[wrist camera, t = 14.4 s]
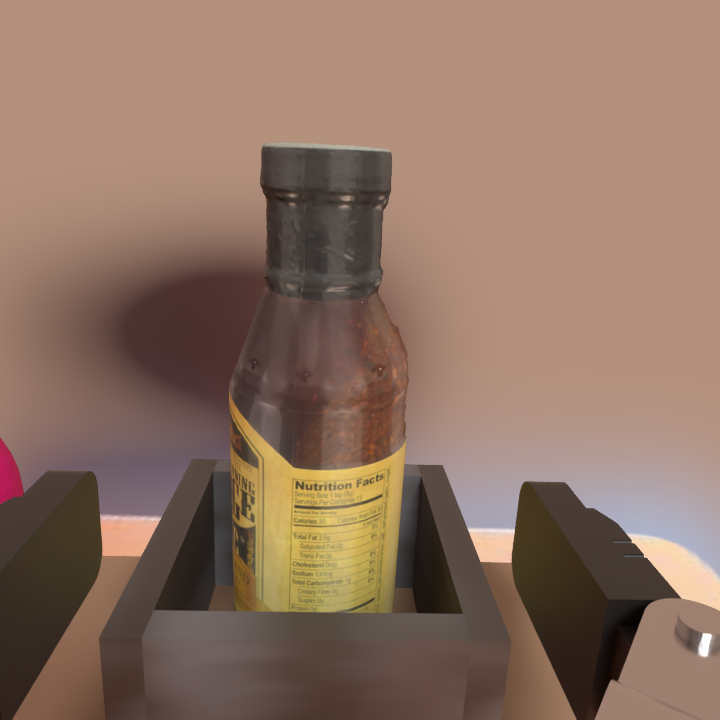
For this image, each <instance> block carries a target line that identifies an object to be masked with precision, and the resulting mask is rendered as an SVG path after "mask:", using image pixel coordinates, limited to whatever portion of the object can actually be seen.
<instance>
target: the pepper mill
mask: <svg viewBox="0 0 720 720" xmlns="http://www.w3.org/2000/svg"><path fill="white" fill-rule="evenodd" d="M23 494H24V491H23V486H22V482H21V478H20V473H19V469H18V467H17V465H16V463H15V461H14V458H13V456H12V454H11V452H10V451H9V449H8V448H7V447H6V445H5V444H4V442H3V441H2V439H1V438H0V504H1V503H3V502H5V501H7V500H9V499H11V498H13V497H21V496H22V495H23Z"/></svg>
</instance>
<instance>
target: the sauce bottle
mask: <svg viewBox="0 0 720 720" xmlns="http://www.w3.org/2000/svg"><path fill="white" fill-rule="evenodd" d="M261 154H262V156H261V157H262V167H261V178H260V184H261V187H262V189H263V193H264V195H265V196H266V199H267V200H266V201H267V209H266V217H267V249H266V255H267V259H266V266H265V268H264V271H263V274H264V279H265V284H264V287H263V290H262V293H261V296H260V299H259V302H258V305H257V308H256V311H255V314H254V317H253V320H252V323H251V326H250V329H249V332H248V335H247V338H246V341H245V344H244V347H243V349H242V352H241V355H240V357H239V360H238V363H237V365H236V368H235V370H234V373H233V376H232V378H231V381H230V384H229V406H230V407H229V409H230V410H229V411H230V449H231V473H230V476H231V505H232V543H233V587H234V611H258V612H341V613H393V600H394V589H395V577H396V564H397V552H398V539H399V527H400V514H401V501H402V488H403V475H404V462H405V449H406V424H405V421H404V417H405V407H406V405H405V399H406V398H405V397H406V390H407V385H408V375H407V374H408V363H407V352H406V349H405V346H404V344H403V342H402V339H401V336H400V333H399V329H398V327H397V326H395V325H394V324H393V323H392V321H391V320H390V319H389V316H388V313H387V311H386V310H385V306H384V303H383V302H382V300H381V299H380V296H379V294H378V288H379V286H380V284H381V280H382V275H383V270H382V268H381V265H380V257H381V244H382V243H381V242H382V221H383V210H384V208H385V207H386V205H387V204H388V200H389V195H390V192H391V175H392V155H391V152H390V151H389V150H386V149H381V148H372V147H359V146H349V145H325V144H310V143H265V144H264V145H263V147H262V152H261Z"/></svg>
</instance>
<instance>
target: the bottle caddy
mask: <svg viewBox="0 0 720 720" xmlns="http://www.w3.org/2000/svg"><path fill="white" fill-rule="evenodd" d="M230 473H231V460H204V459H192V461H191V463H190V465H189V467H188V468H187V471H186V473H185V474H184V476H183V478H182V480H181V482H180V484H179V486H178V488H177V489H176V491H175V493H174V495H173V497H172V499H171V501H170V503H169V505H168V507H167V509H166V511H165V513H164V514H163V516H162V518H161V520H160V522H159V524H158V526H157V528H156V530H155V531H154V533H153V535H152V537H151V539H150V541H149V543H148V545H147V547H146V549H145V551H144V552H143V554H142V556H141V557H130V556H102V560H101V566H100V570H99V574H98V577H97V579H96V581H95V583H94V585H93V587H92V588H91V590H90V592H89V593H88V595H87V597H86V598H85V600H84V601H83V603H82V605H81V606H80V608H79V610H78V611H77V613H76V615H75V616H74V618H73V620H72V621H71V623H70V625H69V626H68V628H67V630H66V631H65V633H64V635H63V636H62V638H61V640H60V641H59V643H58V645H57V646H56V648H55V649H54V651H53V653H52V654H51V656H50V658H49V659H48V661H47V663H46V664H45V666H44V668H43V669H42V671H41V673H40V674H39V676H38V678H37V679H36V681H35V683H34V684H33V686H32V688H31V689H30V691H29V693H28V694H27V696H26V697H25V699H24V701H23V702H22V704H21V706H20V707H19V709H18V711H17V712H16V714H15V716H14V717H13V719H12V720H577V719H576V717H575V715H574V713H573V711H572V709H571V706H570V704H569V702H568V700H567V698H566V696H565V693H564V691H563V689H562V687H561V685H560V683H559V680H558V678H557V676H556V674H555V672H554V669H553V667H552V665H551V663H550V661H549V659H548V656H547V654H546V652H545V650H544V648H543V646H542V643H541V641H540V639H539V637H538V635H537V633H536V630H535V628H534V626H533V624H532V622H531V620H530V617H529V615H528V613H527V611H526V609H525V607H524V604H523V602H522V600H521V598H520V596H519V594H518V591H517V589H516V587H515V583H514V579H513V572H512V563H491V562H480V560H479V557H478V555H477V552H476V550H475V547H474V544H473V542H472V539H471V537H470V534H469V532H468V529H467V527H466V524H465V522H464V519H463V516H462V514H461V511H460V509H459V506H458V504H457V501H456V498H455V496H454V493H453V491H452V488H451V486H450V483H449V481H448V478H447V475H446V473H445V470H444V468H443V465H407V464H404V475H403V488H402V501H401V514H400V527H399V539H398V552H397V564H396V577H395V589H394V600H393V613H341V612H258V611H234V587H233V543H232V505H231V476H230Z"/></svg>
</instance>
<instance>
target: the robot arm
mask: <svg viewBox="0 0 720 720" xmlns="http://www.w3.org/2000/svg"><path fill="white" fill-rule="evenodd" d="M631 541H632V540H631V539H630V538H629V537H628V535H627V534H626V533H625V532H624V531H623V530H622V528H621V527H620V526H619V525H618V524H617V523H616V522H614V521H613V520H611V519H610V518H608V517H607V516H605V515H603V514H602V513H600V512H599V511H597V510H595V509H593V508H586V507H585V506H584V505H583V504H582V502H581V501H580V500H579V499H578V498H577V496H576V495H575V494H574V492H573V491H572V490H571V489H570V487H569V486H568V485H567V484H566V483H564V482H524V483H523V485H522V487H521V490H520V495H519V503H518V512H517V519H516V527H515V535H514V542H513V550H512V572H513V579H514V583H515V587H516V589H517V591H518V594H519V596H520V598H521V600H522V602H523V604H524V607H525V609H526V611H527V613H528V615H529V617H530V620H531V622H532V624H533V626H534V628H535V630H536V633H537V635H538V637H539V639H540V641H541V643H542V646H543V648H544V650H545V652H546V654H547V656H548V659H549V661H550V663H551V665H552V667H553V669H554V672H555V674H556V676H557V678H558V680H559V683H560V685H561V687H562V689H563V691H564V693H565V696H566V698H567V700H568V702H569V704H570V706H571V709H572V711H573V713H574V715H575V717H576V719H577V720H720V611H719V610H716V609H714V608H712V607H709V606H707V605H704V604H701V603H698V602H694V601H690V600H685V599H681V597H680V596H679V595H678V594H677V593H676V592H675V590H674V589H673V588H672V587H671V586H670V585H669V583H668V582H667V581H666V580H665V579H664V577H663V576H662V575H661V574H660V573H659V572H658V570H657V569H656V568H655V567H654V566H653V565H652V563H651V562H650V561H649V560H648V559H647V558H644V554H643V553H642V552H641V551H640V549H639V548H638V547H637V546H636V545H635V544H634V543H632V542H631ZM101 560H102V537H101V524H100V511H99V499H98V487H97V480H96V477H95V475H94V473H93V472H91V471H47V472H46V473H45V474H44V475H43V476H42V477H41V478H40V479H39V480H38V481H37V482H36V483H35V484H34V485H33V486H32V487H30V489H29V490H27V491H26V492H25V494H23V495H22V496H21V497H13V498H11V499H9V500H7V501H5V502H3V503H1V504H0V720H12V719H13V717H14V716H15V714H16V712H17V711H18V709H19V707H20V706H21V704H22V702H23V701H24V699H25V697H26V696H27V694H28V693H29V691H30V689H31V688H32V686H33V684H34V683H35V681H36V679H37V678H38V676H39V674H40V673H41V671H42V669H43V668H44V666H45V664H46V663H47V661H48V659H49V658H50V656H51V654H52V653H53V651H54V649H55V648H56V646H57V645H58V643H59V641H60V640H61V638H62V636H63V635H64V633H65V631H66V630H67V628H68V626H69V625H70V623H71V621H72V620H73V618H74V616H75V615H76V613H77V611H78V610H79V608H80V606H81V605H82V603H83V601H84V600H85V598H86V597H87V595H88V593H89V592H90V590H91V588H92V587H93V585H94V583H95V581H96V579H97V577H98V574H99V570H100V566H101Z"/></svg>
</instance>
